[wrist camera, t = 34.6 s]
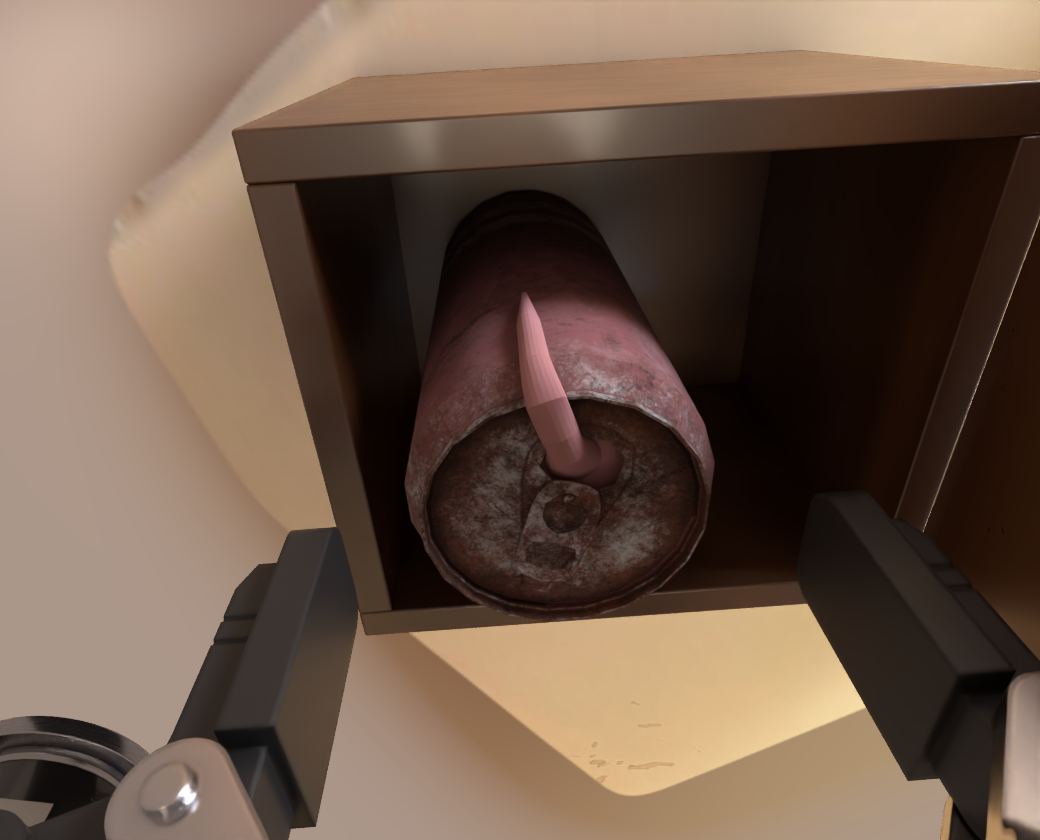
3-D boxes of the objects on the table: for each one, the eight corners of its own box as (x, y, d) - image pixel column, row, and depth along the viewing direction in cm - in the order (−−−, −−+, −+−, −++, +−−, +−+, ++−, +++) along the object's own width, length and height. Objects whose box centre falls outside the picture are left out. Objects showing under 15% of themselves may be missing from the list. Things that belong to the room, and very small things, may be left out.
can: (577, 153, 22) (689, 314, 10) (625, 317, 25) (753, 589, 13) (412, 217, 23) (330, 437, 11) (479, 368, 26) (475, 666, 14)
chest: (408, 412, 28) (364, 636, 18) (352, 77, 21) (229, 129, 11) (749, 389, 28) (898, 598, 18) (802, 50, 21) (1093, 76, 11)
